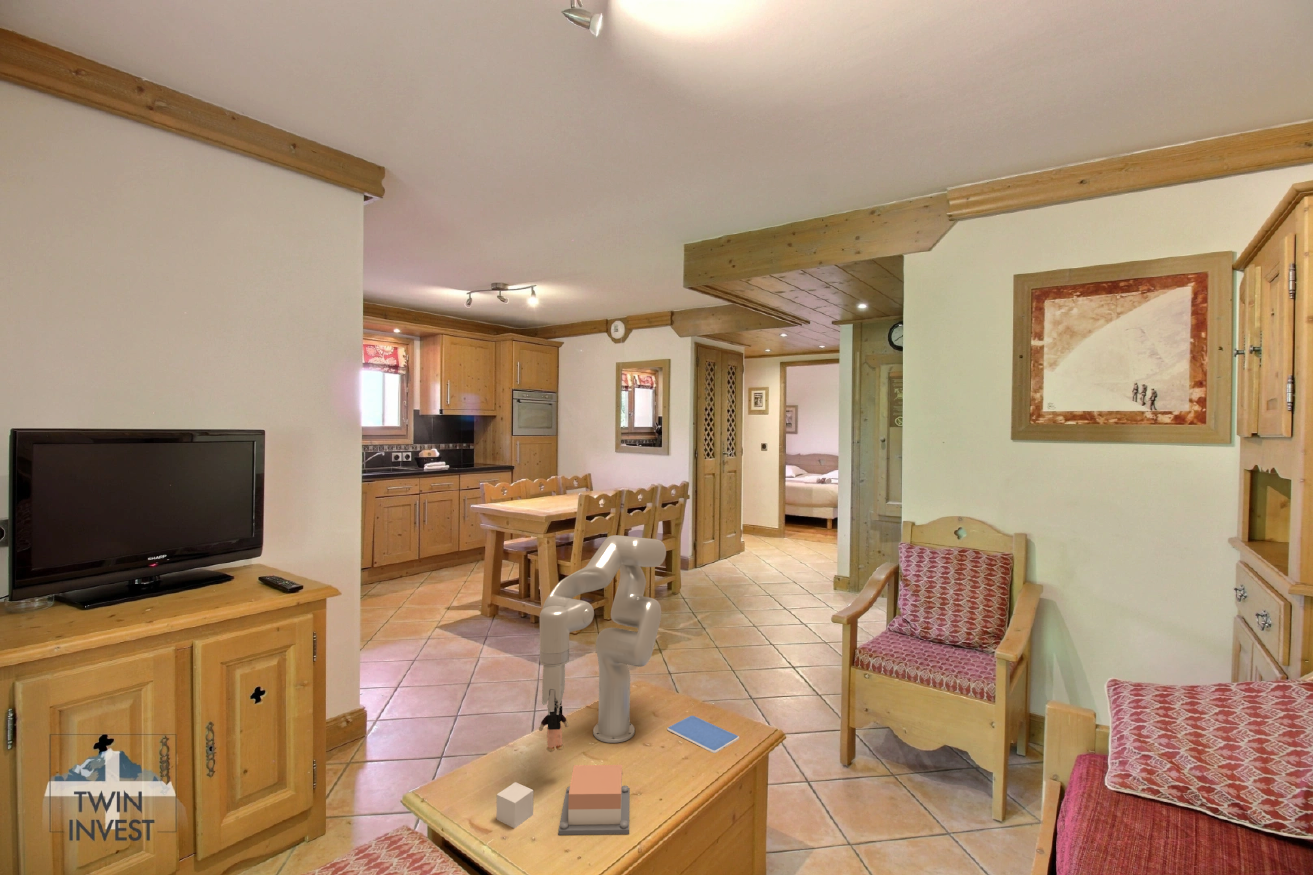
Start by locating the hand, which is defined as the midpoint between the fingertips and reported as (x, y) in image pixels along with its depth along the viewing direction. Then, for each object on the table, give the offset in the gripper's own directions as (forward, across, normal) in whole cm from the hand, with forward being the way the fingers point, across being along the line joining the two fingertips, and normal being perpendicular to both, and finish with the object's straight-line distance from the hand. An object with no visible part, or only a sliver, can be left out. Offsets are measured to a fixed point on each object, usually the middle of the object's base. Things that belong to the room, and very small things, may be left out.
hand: (555, 724), depth 155 cm
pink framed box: (+15, +13, +11) cm, 23 cm away
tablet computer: (+17, -24, +41) cm, 51 cm away
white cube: (+15, +14, -8) cm, 22 cm away
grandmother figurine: (+6, 0, 0) cm, 6 cm away
